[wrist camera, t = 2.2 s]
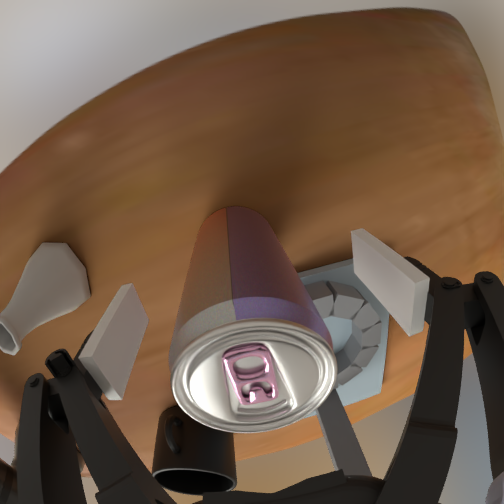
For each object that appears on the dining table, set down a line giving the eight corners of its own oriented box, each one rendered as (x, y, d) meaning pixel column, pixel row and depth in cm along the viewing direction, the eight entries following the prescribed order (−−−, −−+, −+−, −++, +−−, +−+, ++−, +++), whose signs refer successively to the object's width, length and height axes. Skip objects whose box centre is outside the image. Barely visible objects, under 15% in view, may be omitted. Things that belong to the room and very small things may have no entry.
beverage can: (265, 196, 21) (342, 295, 7) (278, 267, 24) (342, 415, 10) (188, 214, 21) (133, 339, 7) (208, 282, 23) (198, 444, 9)
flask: (52, 314, 23) (6, 377, 14) (21, 252, 21) (-41, 300, 11) (103, 301, 23) (58, 375, 14) (71, 229, 21) (1, 280, 11)
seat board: (259, 422, 31) (283, 567, 12) (212, 293, 24) (212, 562, 5) (377, 387, 31) (442, 510, 12) (385, 249, 24) (555, 402, 5)
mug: (210, 384, 28) (210, 454, 19) (241, 436, 32) (247, 492, 24) (136, 394, 28) (121, 457, 19) (177, 444, 32) (174, 496, 24)
